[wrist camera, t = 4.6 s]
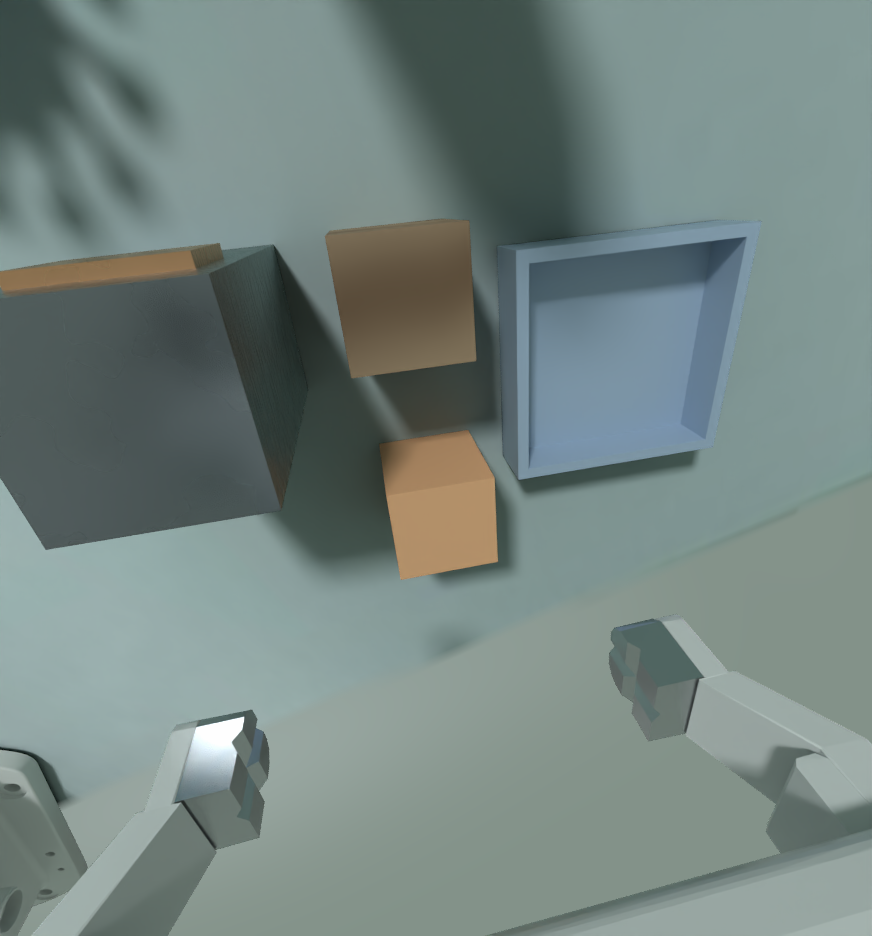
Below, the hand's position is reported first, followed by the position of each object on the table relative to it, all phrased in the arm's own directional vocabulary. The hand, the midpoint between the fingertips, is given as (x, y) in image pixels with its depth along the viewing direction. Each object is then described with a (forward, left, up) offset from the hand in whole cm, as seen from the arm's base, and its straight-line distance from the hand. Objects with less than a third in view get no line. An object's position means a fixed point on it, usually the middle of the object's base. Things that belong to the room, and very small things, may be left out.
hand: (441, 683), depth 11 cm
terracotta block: (-3, -2, -14) cm, 15 cm away
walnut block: (+7, -1, -14) cm, 16 cm away
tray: (+3, -11, -14) cm, 18 cm away
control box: (+6, +6, -14) cm, 17 cm away
